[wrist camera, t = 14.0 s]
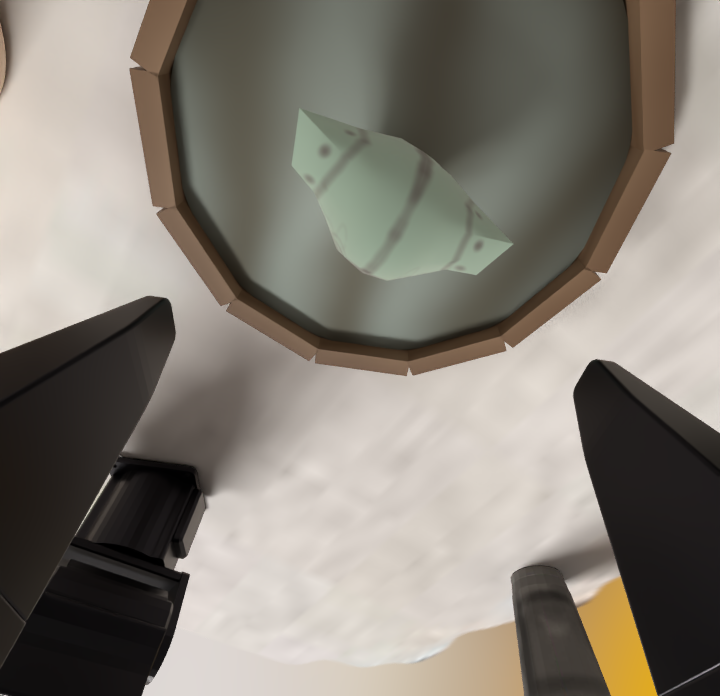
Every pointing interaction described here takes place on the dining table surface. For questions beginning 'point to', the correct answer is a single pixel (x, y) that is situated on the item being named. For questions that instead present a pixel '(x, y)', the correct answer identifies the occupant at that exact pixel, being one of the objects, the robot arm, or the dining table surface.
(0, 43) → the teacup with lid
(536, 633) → the beverage cup
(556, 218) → the round tray
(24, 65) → the dining table surface
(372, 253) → the grey-green angular piece
